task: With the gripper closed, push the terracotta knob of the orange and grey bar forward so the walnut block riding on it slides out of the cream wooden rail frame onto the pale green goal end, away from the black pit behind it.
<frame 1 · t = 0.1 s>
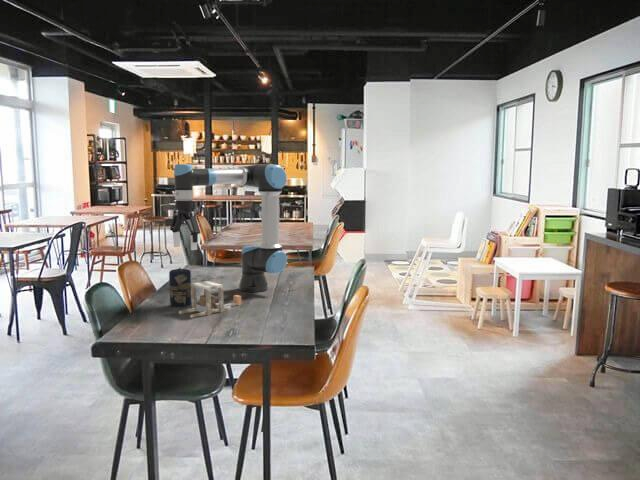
hand: (185, 248, 250), 28 cm above the table, fingers open, 13 cm apart
cream wooden rail frame: (207, 313, 249), on the table
orange and grey bar: (220, 303, 253), point 3 cm above the table, slide at 0.0 cm, touching block
canister: (180, 307, 261), on the table
block: (207, 308, 248), point 2 cm above the table, touching orange and grey bar
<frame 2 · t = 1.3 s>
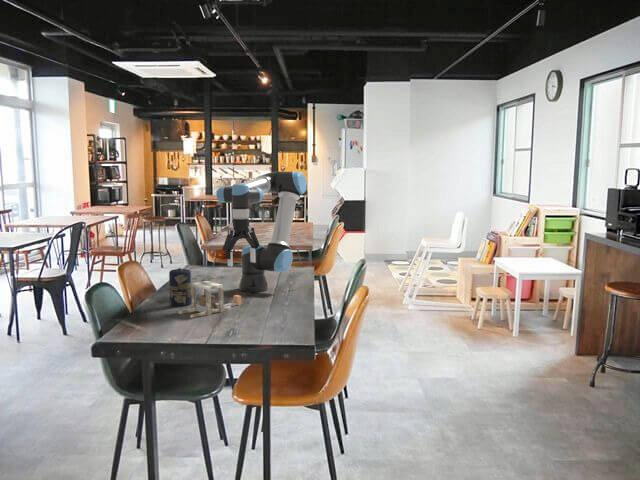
hand: (241, 264, 261), 19 cm above the table, fingers open, 13 cm apart
nothing on the table moved.
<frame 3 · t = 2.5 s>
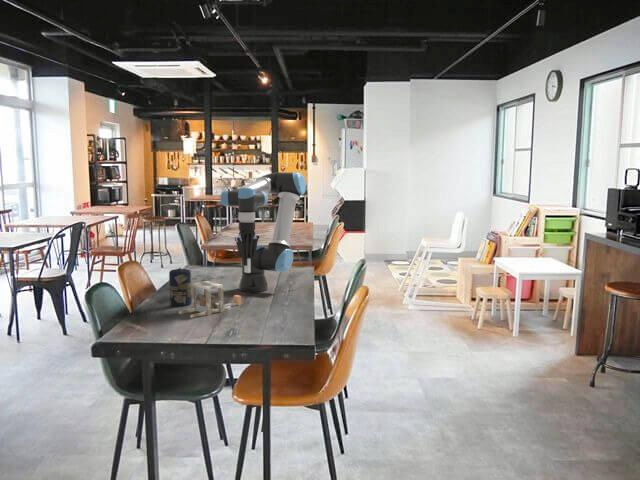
hand: (247, 272, 263), 15 cm above the table, fingers closed
nothing on the table moved.
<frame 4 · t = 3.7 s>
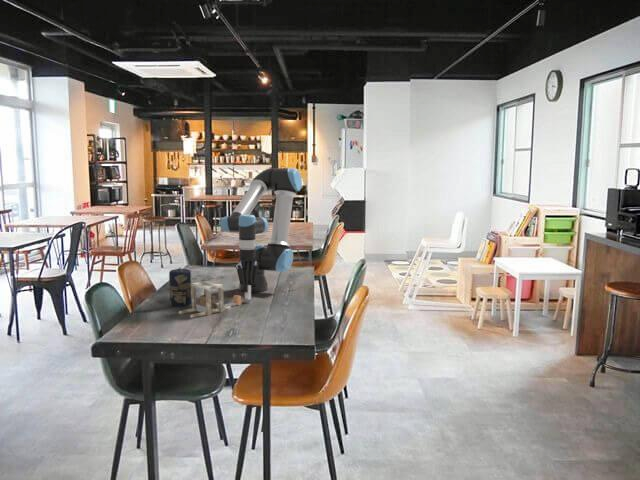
hand: (248, 298, 264), 3 cm above the table, fingers closed
nothing on the table moved.
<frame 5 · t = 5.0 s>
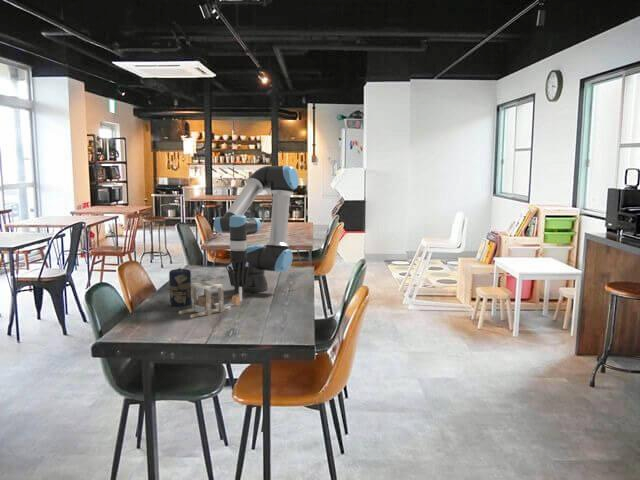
hand: (239, 300, 260), 3 cm above the table, fingers closed
orange and grey bar: (219, 304, 253), point 3 cm above the table, slide at 0.9 cm, touching block, gripper
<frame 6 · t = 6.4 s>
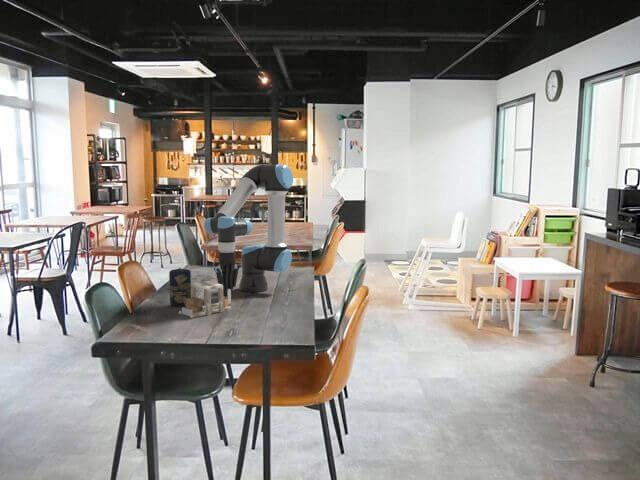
hand: (227, 303, 256), 3 cm above the table, fingers closed
orange and grey bar: (207, 306, 248), point 3 cm above the table, slide at 7.2 cm, touching block, gripper
block: (193, 311, 243), point 2 cm above the table, touching orange and grey bar
everything else where it was.
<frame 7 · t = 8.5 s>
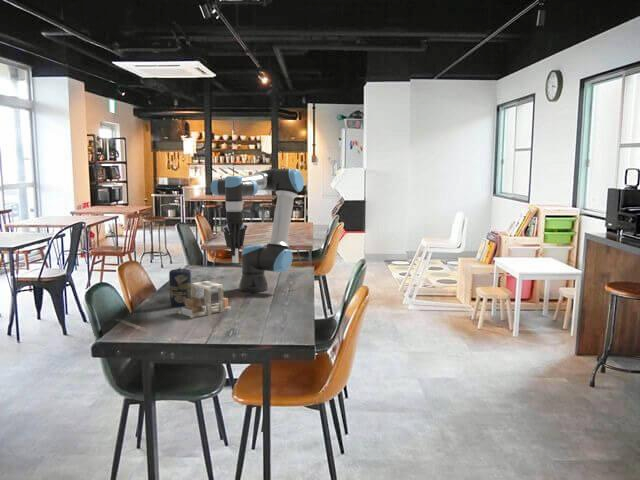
hand: (235, 262, 258), 20 cm above the table, fingers closed
orange and grey bar: (206, 306, 248), point 3 cm above the table, slide at 7.3 cm, touching block
everything else where it was.
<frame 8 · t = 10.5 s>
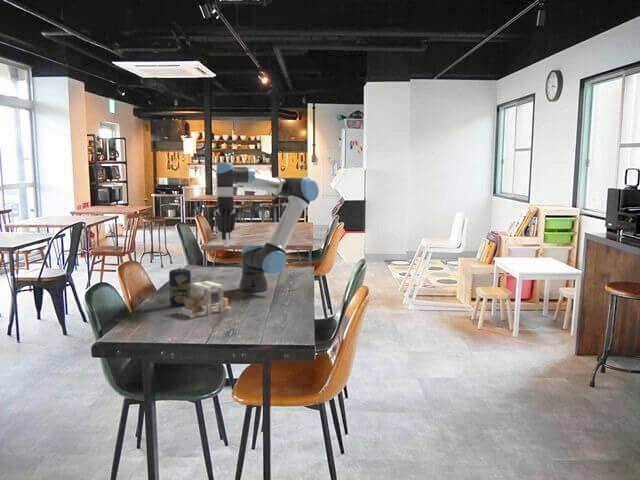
hand: (226, 246, 267), 26 cm above the table, fingers closed
nothing on the table moved.
at the end: orange and grey bar slide at 7.3 cm; block inside the target area (1.7 cm from its centre), point 2.3 cm above the table; block tilted 0° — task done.
